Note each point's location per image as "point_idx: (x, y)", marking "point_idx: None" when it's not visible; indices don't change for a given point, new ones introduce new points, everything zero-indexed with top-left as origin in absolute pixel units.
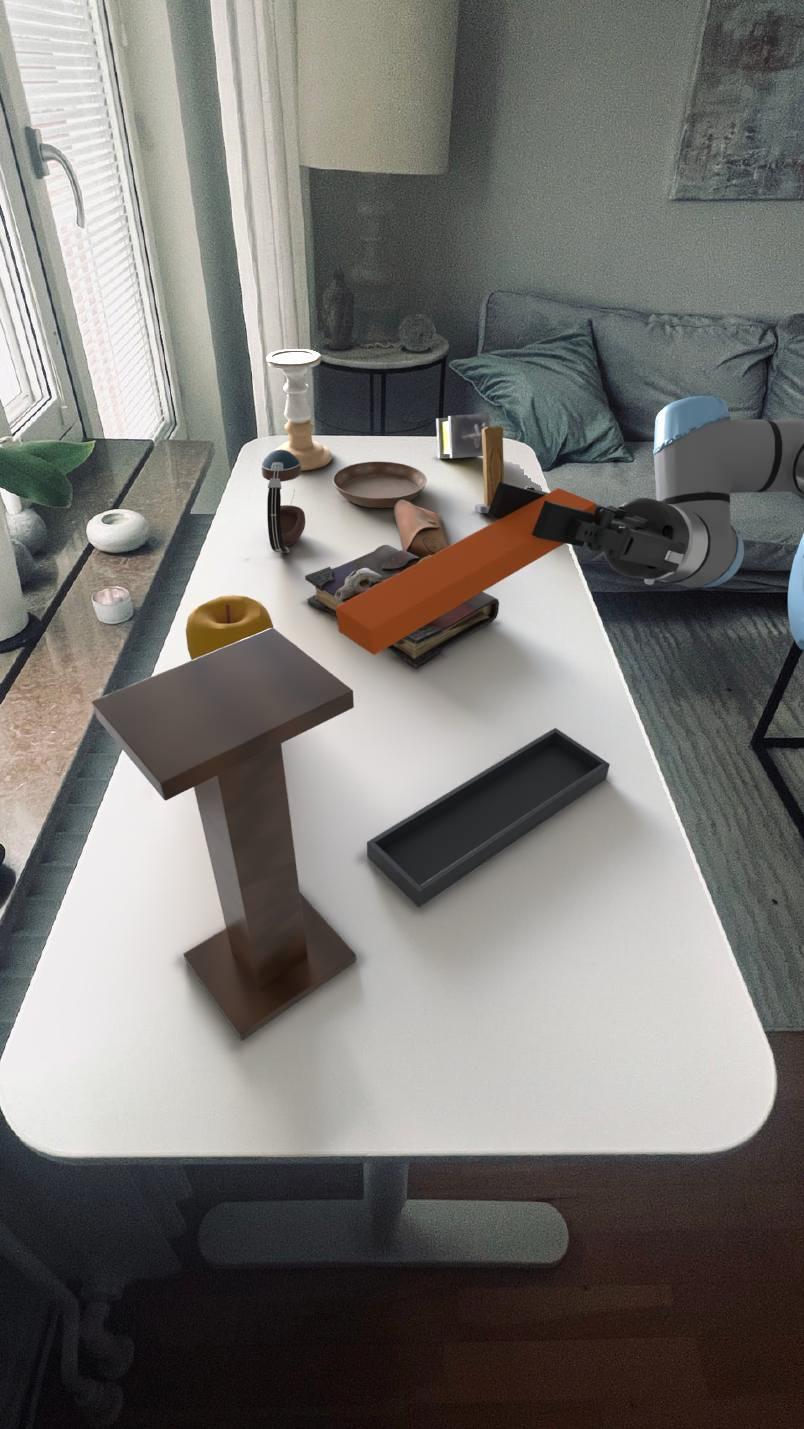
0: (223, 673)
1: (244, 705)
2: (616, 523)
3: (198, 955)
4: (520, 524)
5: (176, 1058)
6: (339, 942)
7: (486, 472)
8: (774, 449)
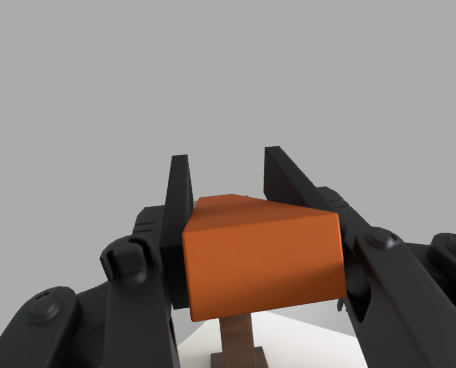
0: None
1: None
2: (109, 346)
3: (257, 350)
4: (235, 204)
5: (220, 339)
6: None
7: None
8: None
